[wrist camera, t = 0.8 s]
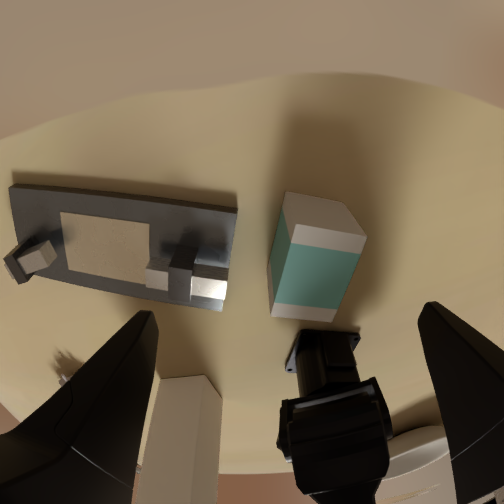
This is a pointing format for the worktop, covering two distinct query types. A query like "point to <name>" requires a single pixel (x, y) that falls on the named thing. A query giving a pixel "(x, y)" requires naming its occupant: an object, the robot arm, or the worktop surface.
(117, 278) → the shaft stand
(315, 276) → the block
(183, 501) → the milk
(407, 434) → the soup bowl
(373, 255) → the worktop surface
